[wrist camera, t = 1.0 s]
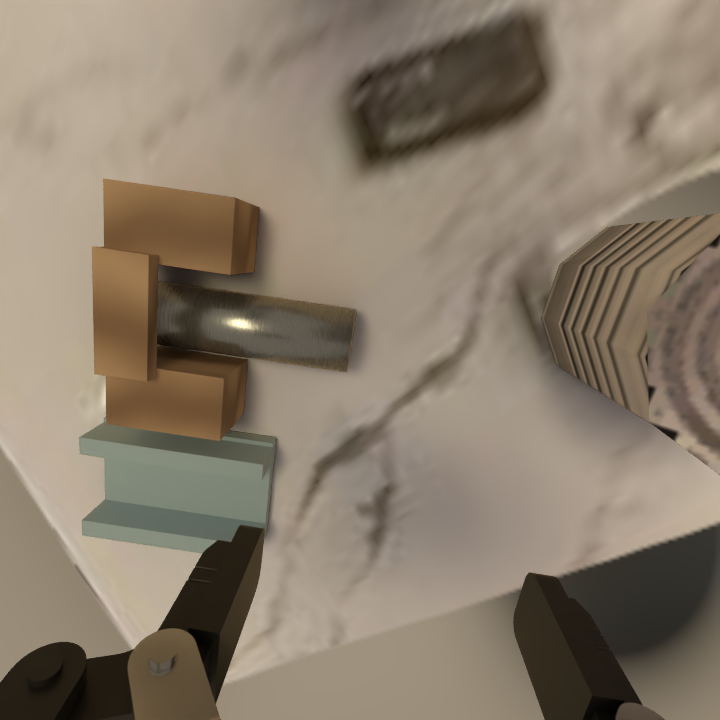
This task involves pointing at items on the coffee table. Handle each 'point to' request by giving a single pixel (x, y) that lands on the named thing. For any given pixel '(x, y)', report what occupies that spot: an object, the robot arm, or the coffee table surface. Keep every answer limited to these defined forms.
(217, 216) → the brown h-shaped block
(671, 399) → the can
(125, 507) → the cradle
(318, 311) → the axle
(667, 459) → the coffee table surface
